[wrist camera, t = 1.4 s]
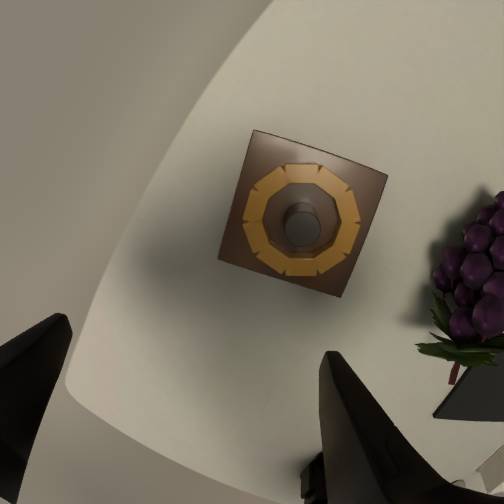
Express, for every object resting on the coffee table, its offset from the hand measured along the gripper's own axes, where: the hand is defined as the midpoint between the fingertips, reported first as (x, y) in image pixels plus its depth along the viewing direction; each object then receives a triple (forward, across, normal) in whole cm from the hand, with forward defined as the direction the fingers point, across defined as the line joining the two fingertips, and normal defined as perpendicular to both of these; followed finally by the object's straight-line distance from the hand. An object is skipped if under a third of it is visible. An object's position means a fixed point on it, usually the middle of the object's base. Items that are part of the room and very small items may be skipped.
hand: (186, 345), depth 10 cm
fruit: (+13, -20, +3) cm, 24 cm away
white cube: (+5, -45, +32) cm, 56 cm away
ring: (+12, -5, 0) cm, 13 cm away
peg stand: (+14, -5, +1) cm, 15 cm away
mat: (+9, -31, +16) cm, 36 cm away
